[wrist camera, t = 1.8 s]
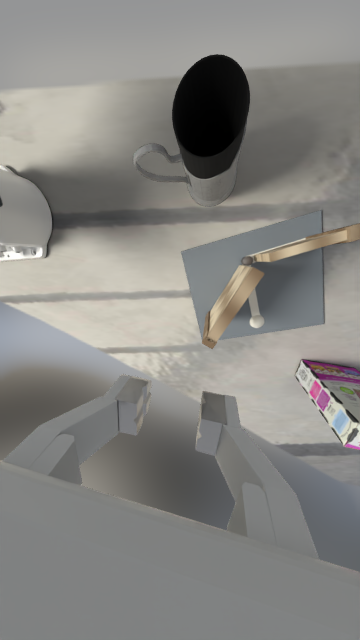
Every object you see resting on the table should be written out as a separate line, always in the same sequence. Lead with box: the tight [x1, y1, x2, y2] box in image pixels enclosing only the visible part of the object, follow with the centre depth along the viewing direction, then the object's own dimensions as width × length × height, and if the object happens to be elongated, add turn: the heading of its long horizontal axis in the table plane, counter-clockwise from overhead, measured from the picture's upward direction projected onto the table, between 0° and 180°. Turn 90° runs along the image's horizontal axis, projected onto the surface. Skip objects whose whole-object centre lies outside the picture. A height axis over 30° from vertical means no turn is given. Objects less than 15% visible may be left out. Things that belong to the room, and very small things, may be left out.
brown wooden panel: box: [202, 265, 265, 349], centre depth 30 cm, size 12×2×14 cm, turn 152°
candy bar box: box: [295, 360, 360, 450], centre depth 31 cm, size 11×5×16 cm, turn 85°
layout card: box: [181, 210, 324, 340], centre depth 35 cm, size 25×21×1 cm
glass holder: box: [133, 54, 250, 207], centre depth 24 cm, size 9×14×15 cm, turn 103°
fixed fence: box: [241, 223, 360, 266], centre depth 27 cm, size 13×2×11 cm, turn 107°
